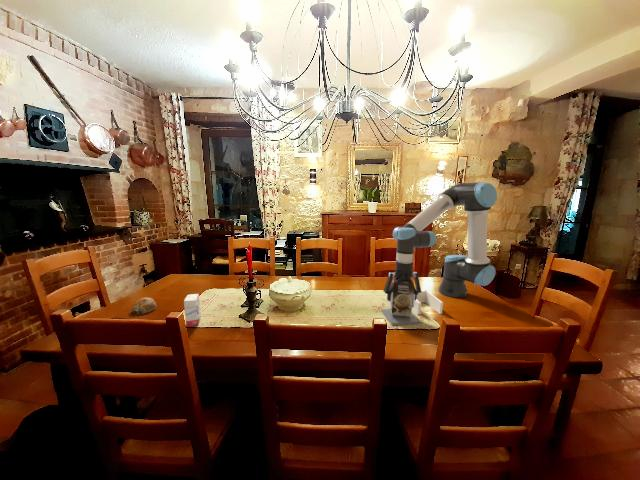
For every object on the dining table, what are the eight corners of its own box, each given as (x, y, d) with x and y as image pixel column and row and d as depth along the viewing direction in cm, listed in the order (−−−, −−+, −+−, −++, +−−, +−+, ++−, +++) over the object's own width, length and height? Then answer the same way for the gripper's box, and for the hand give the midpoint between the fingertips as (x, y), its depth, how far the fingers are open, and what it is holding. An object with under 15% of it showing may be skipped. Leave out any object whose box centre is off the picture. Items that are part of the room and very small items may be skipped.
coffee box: (391, 315, 124) (393, 282, 121) (390, 309, 130) (392, 278, 127) (411, 317, 122) (414, 284, 119) (409, 311, 128) (412, 279, 125)
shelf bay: (426, 300, 146) (426, 290, 145) (441, 313, 130) (443, 302, 129) (404, 301, 145) (405, 291, 144) (417, 314, 129) (418, 303, 128)
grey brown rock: (157, 317, 131) (163, 301, 133) (135, 315, 123) (141, 298, 124) (147, 311, 137) (153, 296, 138) (126, 310, 128) (132, 294, 130)
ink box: (198, 325, 116) (196, 300, 114) (185, 327, 115) (183, 301, 113) (201, 316, 124) (199, 293, 122) (189, 318, 123) (187, 294, 121)
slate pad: (408, 310, 134) (408, 308, 134) (421, 323, 120) (421, 321, 120) (381, 311, 132) (381, 309, 132) (391, 325, 119) (391, 323, 118)
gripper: (424, 259, 126) (420, 302, 130) (377, 259, 124) (375, 304, 128) (432, 263, 119) (427, 309, 123) (383, 264, 116) (380, 311, 120)
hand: (401, 306), depth 125 cm, fingers closed on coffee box, 10 cm apart
